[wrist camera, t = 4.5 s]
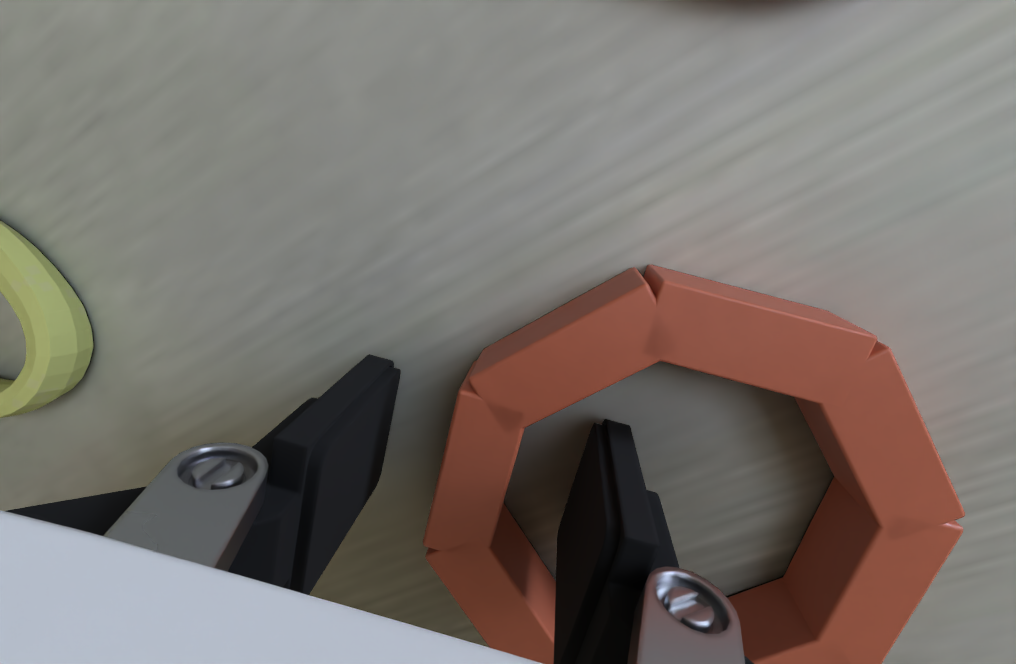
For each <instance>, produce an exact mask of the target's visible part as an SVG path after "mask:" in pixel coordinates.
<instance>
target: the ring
mask: <svg viewBox="0 0 1016 664" xmlns="http://www.w3.org/2000/svg"><path fill="white" fill-rule="evenodd" d="M659 361H663V362H666V363H670V364H674V365H677V366H681V367H685V368H689V369H692V370H696V371H700V372H704V373H707V374H711V375H715V376H718V377H722V378H726V379H730V380H733V381H737V382H741V383H744V384H748V385H752V386H756V387H759V388H763V389H767V390H771V391H774V392H778V393H782V394H785V395H789V396H793V397H794V398H795V400H796V402H797V404H798V406H799V408H800V410H801V412H802V414H803V415H804V417H805V419H806V421H807V423H808V425H809V427H810V429H811V431H812V433H813V435H814V437H815V439H816V441H817V443H818V445H819V447H820V449H821V451H822V453H823V455H824V457H825V459H826V461H827V463H828V465H829V467H830V469H831V471H832V473H833V475H834V478H833V480H832V482H831V484H830V486H829V488H828V490H827V492H826V494H825V496H824V498H823V500H822V502H821V504H820V506H819V508H818V509H817V511H816V513H815V515H814V517H813V519H812V521H811V523H810V525H809V527H808V529H807V531H806V533H805V535H804V537H803V539H802V541H801V543H800V545H799V547H798V549H797V551H796V553H795V555H794V557H793V559H792V561H791V563H790V565H789V567H788V569H787V571H786V573H785V574H784V576H783V577H782V578H780V579H777V580H774V581H771V582H769V583H766V584H763V585H761V586H758V587H755V588H752V589H750V590H747V591H744V592H741V593H739V594H736V595H733V596H730V597H728V599H729V601H730V602H731V604H732V605H733V607H734V609H735V610H736V612H737V615H738V618H739V621H740V626H741V635H742V643H743V651H744V655H745V656H746V657H747V658H748V659H749V660H750V661H752V662H753V663H754V664H882V662H883V660H884V659H885V657H886V655H887V654H888V652H889V651H890V649H891V647H892V646H893V644H894V643H895V641H896V639H897V638H898V636H899V634H900V633H901V631H902V630H903V628H904V626H905V625H906V623H907V622H908V620H909V618H910V617H911V615H912V614H913V612H914V610H915V609H916V607H917V605H918V604H919V602H920V601H921V599H922V597H923V596H924V594H925V593H926V591H927V589H928V588H929V586H930V584H931V583H932V581H933V580H934V578H935V576H936V575H937V573H938V572H939V570H940V568H941V567H942V565H943V564H944V562H945V560H946V559H947V557H948V555H949V554H950V552H951V551H952V549H953V547H954V546H955V544H956V543H957V541H958V539H959V538H960V536H961V534H962V533H963V528H962V527H961V526H960V525H959V524H958V523H957V522H956V521H955V520H957V519H959V518H962V517H964V516H965V512H964V510H963V508H962V505H961V503H960V501H959V499H958V497H957V494H956V492H955V490H954V488H953V486H952V483H951V481H950V479H949V477H948V474H947V472H946V470H945V468H944V466H943V463H942V461H941V459H940V457H939V455H938V452H937V450H936V448H935V446H934V443H933V441H932V439H931V437H930V435H929V432H928V430H927V428H926V426H925V424H924V421H923V419H922V417H921V415H920V413H919V410H918V408H917V406H916V404H915V401H914V399H913V397H912V395H911V393H910V390H909V388H908V386H907V384H906V382H905V379H904V377H903V375H902V373H901V371H900V368H899V366H898V364H897V362H896V359H895V357H894V355H893V353H892V351H891V349H890V348H889V347H888V346H886V345H884V344H882V343H880V342H878V341H877V337H876V336H875V335H873V334H872V333H870V332H868V331H866V330H864V329H862V328H860V327H858V326H856V325H854V324H852V323H850V322H848V321H846V320H844V319H842V318H840V317H838V316H836V315H834V314H832V313H830V312H828V311H826V310H822V309H818V308H815V307H811V306H807V305H803V304H799V303H795V302H792V301H788V300H784V299H780V298H776V297H773V296H769V295H765V294H761V293H757V292H754V291H750V290H746V289H742V288H738V287H734V286H731V285H727V284H723V283H719V282H715V281H712V280H708V279H704V278H700V277H696V276H692V275H689V274H685V273H681V272H677V271H673V270H670V269H666V268H662V267H658V266H654V265H648V266H647V268H646V271H645V274H644V277H642V275H641V274H640V273H639V271H638V270H637V269H636V268H635V267H634V268H630V269H628V270H626V271H624V272H623V273H621V274H619V275H617V276H615V277H614V278H612V279H610V280H608V281H606V282H604V283H603V284H601V285H599V286H597V287H595V288H594V289H592V290H590V291H588V292H586V293H584V294H583V295H581V296H579V297H577V298H575V299H574V300H572V301H570V302H568V303H566V304H564V305H563V306H561V307H559V308H557V309H555V310H554V311H552V312H550V313H548V314H546V315H544V316H543V317H541V318H539V319H537V320H535V321H534V322H532V323H530V324H528V325H526V326H524V327H523V328H521V329H519V330H517V331H515V332H514V333H512V334H510V335H508V336H506V337H504V338H503V339H501V340H499V341H497V342H495V343H494V344H492V345H490V346H488V347H486V348H484V349H483V351H482V352H481V354H480V356H479V358H478V360H477V361H474V362H473V364H472V366H471V368H470V370H469V372H468V374H467V375H466V377H465V379H464V381H463V383H462V385H461V387H460V389H459V391H458V394H457V398H456V403H455V407H454V411H453V415H452V420H451V424H450V428H449V432H448V437H447V441H446V445H445V449H444V454H443V458H442V462H441V466H440V471H439V475H438V479H437V483H436V488H435V492H434V496H433V500H432V505H431V509H430V513H429V517H428V522H427V526H426V530H425V534H424V539H423V545H424V546H425V547H428V550H427V553H426V556H425V557H426V560H427V561H428V562H429V564H430V565H431V567H432V568H433V569H434V571H435V572H436V574H437V575H438V576H439V578H440V579H441V581H442V582H443V583H444V585H445V586H446V587H447V589H448V590H449V592H450V593H451V594H452V596H453V597H454V599H455V600H456V601H457V603H458V604H459V605H460V607H461V608H462V610H463V611H464V612H465V614H466V615H467V617H468V618H469V619H470V621H471V622H472V624H473V625H474V626H475V628H476V629H477V630H478V632H479V633H480V635H481V636H482V637H483V639H484V640H485V642H486V643H487V644H488V646H489V647H490V648H492V649H496V650H499V651H502V652H506V653H509V654H513V655H516V656H519V657H523V658H526V659H530V660H533V661H536V662H540V663H543V664H554V631H555V597H556V581H555V580H554V578H553V577H552V575H551V574H550V572H549V571H548V569H547V568H546V566H545V565H544V563H543V562H542V560H541V559H540V557H539V556H538V554H537V553H536V551H535V550H534V548H533V547H532V545H531V544H530V542H529V541H528V539H527V538H526V536H525V535H524V533H523V532H522V530H521V529H520V527H519V526H518V524H517V523H516V521H515V520H514V518H513V517H512V515H511V514H510V512H509V511H508V509H507V508H506V506H505V505H504V503H503V502H504V499H505V495H506V492H507V488H508V485H509V481H510V478H511V474H512V471H513V467H514V464H515V460H516V457H517V453H518V450H519V446H520V443H521V439H522V436H523V432H524V428H526V427H528V426H530V425H532V424H534V423H536V422H538V421H540V420H542V419H544V418H546V417H548V416H550V415H552V414H554V413H556V412H558V411H560V410H562V409H564V408H566V407H568V406H570V405H572V404H574V403H576V402H578V401H580V400H582V399H584V398H586V397H588V396H590V395H592V394H594V393H596V392H598V391H600V390H602V389H604V388H606V387H608V386H610V385H612V384H614V383H616V382H618V381H620V380H622V379H624V378H626V377H628V376H630V375H632V374H634V373H637V372H639V371H641V370H643V369H645V368H647V367H649V366H651V365H653V364H655V363H657V362H659Z"/></svg>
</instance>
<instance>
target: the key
mask: <svg viewBox="0 0 1016 664" xmlns="http://www.w3.org/2000/svg"><path fill="white" fill-rule="evenodd" d="M0 291H1V293H2V294H3V295H4V297H5V298H6V299H7V301H8V302H9V304H10V305H11V306H12V308H13V310H14V311H15V313H16V315H17V317H18V319H19V320H20V322H21V325H22V329H23V332H24V335H25V339H26V350H27V354H26V360H25V365H24V367H23V369H22V371H21V372H20V374H19V376H18V378H17V379H16V380H15V381H13V380H5V379H1V378H0V418H3V417H8V416H14V415H20V414H23V413H27V412H30V411H33V410H36V409H39V408H40V407H42V406H44V405H46V404H48V403H49V402H51V401H53V400H55V399H56V398H58V397H60V396H61V395H63V394H65V393H66V392H68V391H70V390H72V388H73V387H74V386H75V385H76V384H77V383H78V382H79V381H80V380H81V379H82V378H83V376H84V374H85V372H86V370H87V367H88V365H89V363H90V359H91V355H92V350H93V338H92V330H91V325H90V323H89V320H88V317H87V314H86V311H85V309H84V306H83V305H82V303H81V301H80V300H79V298H78V297H77V295H76V294H75V292H74V291H73V289H72V287H71V286H70V285H69V284H68V283H67V281H66V280H65V279H64V278H63V276H62V275H61V274H60V273H59V271H58V270H57V269H56V268H55V266H54V265H53V264H52V263H51V262H50V261H49V260H48V259H47V258H46V257H45V256H44V255H43V254H42V253H41V252H40V251H39V250H38V249H37V248H36V247H35V246H34V245H33V244H31V243H30V242H29V241H28V240H26V239H25V238H24V237H23V236H22V235H20V234H19V233H18V232H16V231H15V230H14V229H12V228H11V227H9V226H8V225H6V224H5V223H3V222H2V221H1V220H0Z"/></svg>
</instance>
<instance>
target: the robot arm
mask: <svg viewBox="0 0 1016 664" xmlns="http://www.w3.org/2000/svg"><path fill="white" fill-rule="evenodd" d="M399 380H400V369H396V368H394V363H393V361H391V360H388V359H384V358H380V357H377V356H373V355H367V356H366V357H365V358H364V359H363V360H361V361H360V362H359V363H358V364H357V365H356V366H355V367H354V368H352V369H351V370H350V371H349V372H348V373H347V374H346V375H344V376H343V377H342V378H341V379H340V380H339V381H338V382H337V383H335V384H334V385H333V386H332V387H331V388H330V389H329V390H327V391H326V392H325V393H324V394H323V395H322V396H321V397H320V398H318V399H317V398H310V399H309V400H307V401H306V402H305V403H304V404H302V405H301V406H300V407H299V408H298V409H296V410H295V411H294V412H293V413H292V414H291V415H289V416H288V417H287V418H286V419H285V420H284V421H282V422H281V423H280V424H279V425H278V426H277V427H275V428H274V429H273V430H272V431H271V432H269V433H268V434H267V435H266V436H265V437H264V438H262V439H261V440H260V441H259V442H258V443H257V444H255V445H254V446H253V447H252V448H251V447H249V446H245V445H241V444H237V443H222V442H221V443H210V444H204V445H200V446H196V447H192V448H190V449H188V450H186V451H183V452H181V453H179V454H178V455H177V456H175V457H174V458H173V459H172V460H170V461H169V463H168V464H167V465H166V466H165V467H164V468H163V469H162V470H161V472H160V473H159V474H158V475H157V476H156V477H155V478H154V479H153V481H152V482H151V483H150V484H149V485H148V486H147V487H141V488H136V489H130V490H124V491H118V492H112V493H107V494H101V495H95V496H89V497H83V498H78V499H72V500H66V501H60V502H54V503H48V504H43V505H37V506H31V507H25V508H19V509H14V510H8V511H0V664H543V663H540V662H536V661H533V660H530V659H526V658H523V657H519V656H516V655H513V654H509V653H506V652H502V651H499V650H496V649H492V648H489V647H485V646H482V645H479V644H475V643H472V642H468V641H465V640H462V639H458V638H455V637H451V636H448V635H444V634H441V633H438V632H434V631H431V630H427V629H424V628H421V627H417V626H414V625H410V624H407V623H403V622H400V621H396V620H393V619H390V618H386V617H383V616H379V615H376V614H372V613H369V612H365V611H362V610H358V609H355V608H351V607H348V606H345V605H341V604H338V603H334V602H331V601H327V600H324V599H320V598H317V597H313V596H310V595H309V594H310V592H311V590H312V589H313V587H314V586H315V584H316V582H317V581H318V579H319V578H320V576H321V574H322V573H323V571H324V570H325V568H326V566H327V565H328V563H329V562H330V560H331V558H332V557H333V555H334V554H335V552H336V550H337V549H338V547H339V545H340V544H341V542H342V541H343V539H344V537H345V536H346V534H347V533H348V531H349V529H350V528H351V526H352V525H353V523H354V521H355V520H356V518H357V517H358V515H359V513H360V512H361V510H362V509H363V507H364V505H365V504H366V502H367V501H368V499H369V497H370V496H371V494H372V492H373V491H374V489H375V488H376V486H377V483H378V481H379V478H380V475H381V471H382V466H383V461H384V456H385V451H386V446H387V441H388V436H389V431H390V426H391V420H392V415H393V410H394V405H395V400H396V395H397V390H398V385H399ZM554 664H754V663H753V662H752V661H750V660H749V659H748V658H747V657H746V656H745V655H744V651H743V643H742V635H741V626H740V621H739V618H738V615H737V612H736V610H735V609H734V607H733V605H732V604H731V602H730V601H729V599H728V598H727V597H726V596H725V595H724V594H723V593H722V592H721V591H720V590H719V589H718V588H717V587H715V586H714V585H713V584H711V583H710V582H709V581H707V580H706V579H704V578H702V577H700V576H699V575H697V574H695V573H693V572H690V571H687V570H684V569H681V568H679V565H678V561H677V558H676V554H675V551H674V547H673V544H672V540H671V537H670V533H669V530H668V527H667V523H666V520H665V516H664V513H663V509H662V506H661V502H660V499H659V496H658V494H657V493H655V492H652V491H648V490H646V487H645V483H644V479H643V476H642V472H641V468H640V464H639V460H638V456H637V452H636V448H635V444H634V440H633V436H632V432H631V428H630V426H629V425H625V424H622V423H618V422H614V421H611V420H607V419H605V420H604V421H603V423H602V425H601V424H597V423H594V424H593V426H592V428H591V431H590V434H589V437H588V440H587V443H586V446H585V449H584V452H583V455H582V458H581V461H580V464H579V467H578V470H577V473H576V476H575V479H574V483H573V486H572V489H571V492H570V495H569V498H568V501H567V504H566V507H565V510H564V513H563V516H562V519H561V522H560V526H559V530H558V536H557V564H556V597H555V631H554Z"/></svg>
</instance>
